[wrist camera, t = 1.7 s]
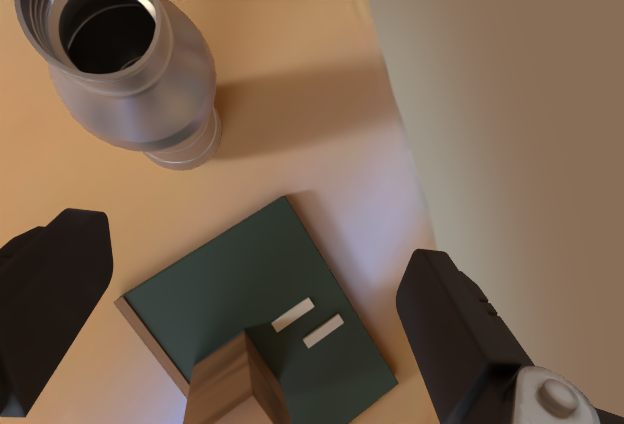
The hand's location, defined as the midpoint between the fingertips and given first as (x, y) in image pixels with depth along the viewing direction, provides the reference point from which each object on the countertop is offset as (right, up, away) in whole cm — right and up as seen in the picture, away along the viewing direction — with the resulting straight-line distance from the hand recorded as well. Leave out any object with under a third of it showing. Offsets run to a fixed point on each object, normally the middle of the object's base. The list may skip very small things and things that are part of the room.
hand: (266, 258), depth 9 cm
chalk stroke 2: (+2, -10, +23) cm, 25 cm away
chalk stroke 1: (-1, -8, +22) cm, 23 cm away
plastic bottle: (-10, +8, +20) cm, 23 cm away
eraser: (-5, -13, +21) cm, 25 cm away
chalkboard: (-2, -11, +22) cm, 25 cm away
